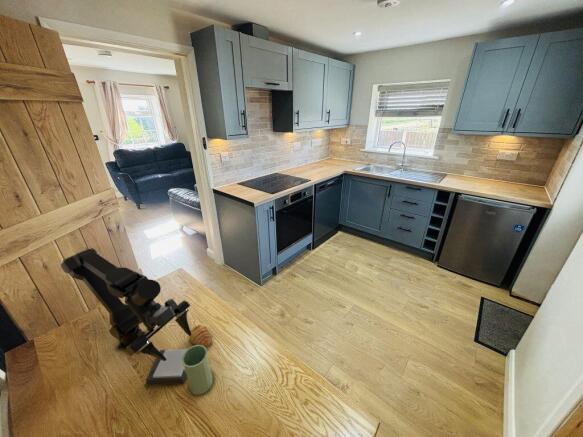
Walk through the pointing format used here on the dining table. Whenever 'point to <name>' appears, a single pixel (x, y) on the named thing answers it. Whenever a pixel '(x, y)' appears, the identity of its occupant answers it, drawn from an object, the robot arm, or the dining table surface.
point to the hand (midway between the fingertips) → (178, 347)
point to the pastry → (200, 336)
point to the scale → (168, 368)
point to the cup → (197, 369)
